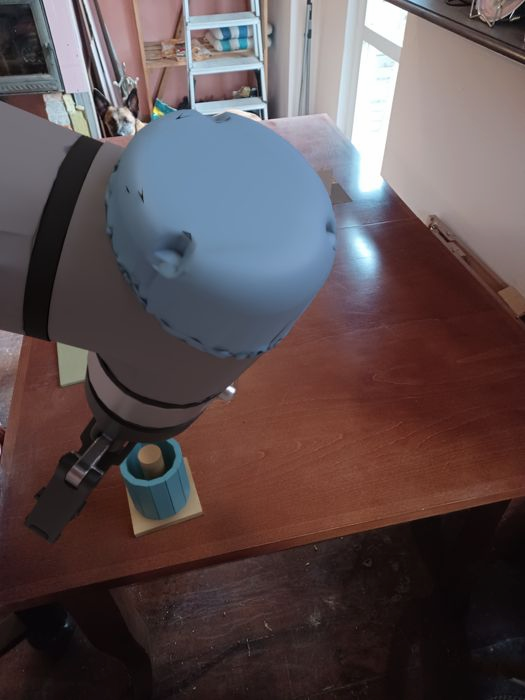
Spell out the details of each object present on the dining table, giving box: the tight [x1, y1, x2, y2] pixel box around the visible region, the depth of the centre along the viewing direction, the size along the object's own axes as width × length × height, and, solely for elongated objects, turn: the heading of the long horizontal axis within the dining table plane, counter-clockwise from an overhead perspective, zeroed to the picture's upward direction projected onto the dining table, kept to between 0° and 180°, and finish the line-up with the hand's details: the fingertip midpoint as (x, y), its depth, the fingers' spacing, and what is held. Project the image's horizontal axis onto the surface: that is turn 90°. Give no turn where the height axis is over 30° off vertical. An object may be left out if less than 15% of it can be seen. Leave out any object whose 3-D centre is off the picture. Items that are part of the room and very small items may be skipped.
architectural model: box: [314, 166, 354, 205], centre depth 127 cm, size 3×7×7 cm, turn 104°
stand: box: [125, 444, 204, 538], centre depth 62 cm, size 9×9×10 cm
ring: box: [119, 437, 191, 520], centre depth 62 cm, size 8×8×8 cm
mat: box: [56, 342, 88, 388], centre depth 86 cm, size 16×12×1 cm
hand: (117, 441), depth 45 cm, fingers open, 13 cm apart
